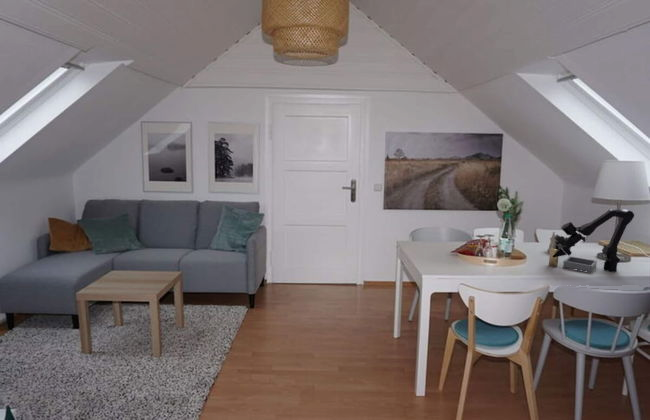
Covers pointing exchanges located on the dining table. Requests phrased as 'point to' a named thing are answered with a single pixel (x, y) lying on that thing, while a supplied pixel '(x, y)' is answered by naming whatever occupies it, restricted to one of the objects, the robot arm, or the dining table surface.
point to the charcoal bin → (580, 264)
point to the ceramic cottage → (552, 243)
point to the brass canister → (553, 261)
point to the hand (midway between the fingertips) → (551, 255)
